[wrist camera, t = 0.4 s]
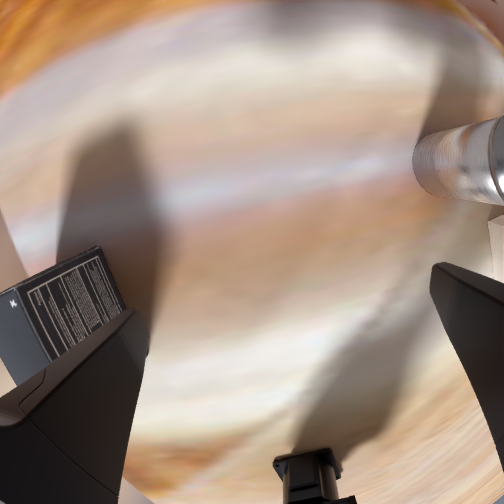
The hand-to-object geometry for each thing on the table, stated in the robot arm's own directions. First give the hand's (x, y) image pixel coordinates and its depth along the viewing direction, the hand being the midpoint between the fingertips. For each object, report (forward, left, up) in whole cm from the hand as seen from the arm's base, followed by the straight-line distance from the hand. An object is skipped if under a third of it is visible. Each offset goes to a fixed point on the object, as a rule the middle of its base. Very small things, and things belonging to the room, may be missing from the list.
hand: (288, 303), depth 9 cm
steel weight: (+1, -14, -14) cm, 20 cm away
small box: (-1, +17, -14) cm, 22 cm away
